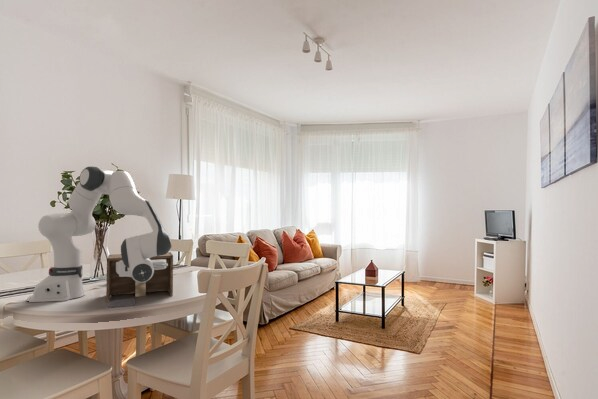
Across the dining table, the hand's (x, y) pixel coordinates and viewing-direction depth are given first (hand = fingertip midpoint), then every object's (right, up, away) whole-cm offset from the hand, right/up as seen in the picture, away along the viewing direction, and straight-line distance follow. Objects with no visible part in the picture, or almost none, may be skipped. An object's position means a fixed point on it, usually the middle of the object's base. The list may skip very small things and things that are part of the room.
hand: (141, 263), depth 170 cm
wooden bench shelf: (-5, -17, +11) cm, 21 cm away
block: (-5, -17, +12) cm, 21 cm away
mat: (-6, -17, -5) cm, 19 cm away
